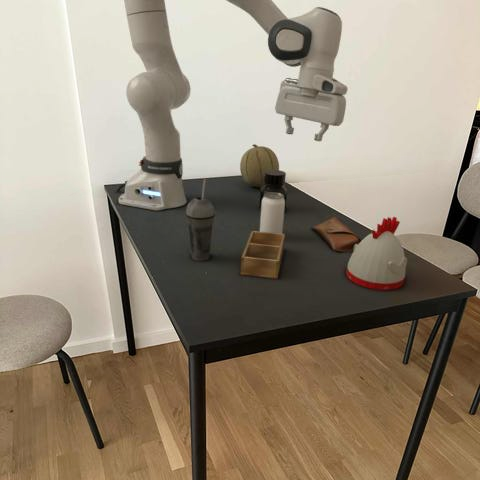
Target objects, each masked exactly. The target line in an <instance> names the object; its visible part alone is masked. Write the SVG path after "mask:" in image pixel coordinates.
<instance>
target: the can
mask: <svg viewBox="0 0 480 480" xmlns="http://www.w3.org/2000/svg"><path fill="white" fill-rule="evenodd" d="M284 208H285V200H284V195H283V194H280V193H274V192H270V193H265V194H264V197H263V199H262V205H261V209H260V220H259V232H268V233H278V234H283V227H284V220H285V219H284V218H285V210H284Z"/></svg>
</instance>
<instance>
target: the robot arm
mask: <svg viewBox="0 0 480 480" xmlns="http://www.w3.org/2000/svg"><path fill="white" fill-rule="evenodd" d="M225 1H227V2H228V3H230V4H232V5H234V6H236V7H237V8H239V9H240V10H242V11H244V12H246V13H247V14H248V15H250V17H251V18H252V19H253V20H254V21H255V22H256V23H257V24H258V25H259V26H260V28H262V30H263V31H264V32H265V33H266V35H268V37H267V46H268V47H267V48H268V50H269V52H270V54H271V55H272V56H273V57H274V58H275V60H277V61H279V62H281V63H283V64H284V65H286V66H288V67H291V68H296V67H299V72H298V77H297V78H291V77H286V78H285V79H283V80H282V81H281V82H280V85H279V90H278V95H277V98H276V102H275V106H274V110H275V113H276V114H278V115H281V116H284V120H283V121H284V124H285V126H286V129H285V134H287V135H293V134H294V131H295V127H293V124H292V121H293V120H294V118H296V119H299V120H300V119H301V120H306V121H310V122H313V123H314V122H315V123H320V126H319V127H320V128H321V129H320V130H319V132H318V133H314V138H313V140H314V141H316V142H322V140H323V137H324V135H325V133H326V132H327V131H328V130H329V127H330V126H334V127H339V126H341V124H343V123H344V120H345V119H344V118H345V114H346V108H347V99H346V97H345V95H347V93H348V90H349V89H348V86H347V85H345V84H344V83H343V82H341V81H339V80H337V79H336V78H334V73H335V61H336V58H337V56H338V54H339V49H340V45H341V44H340V43H341V38H342V31H343V22H342V21H343V20H342V18H341V17H340V16H339V14H338V13H337V12H334V11H333V10H331V9H328V8H326V7H322V6H317V7H314V8H313V9H312V10H310V11H308V12H306V13H304V14H302V15H301V14H300V15H298V16H295V17H290V18H288V17H287V16H286V15H285V14H284V13H283V11H282V10H281V9H280V8H279V7H278V6H277V5H276V3H275V2H274V1H273V0H225ZM124 8H125V15H126V19H127V24H128V30H129V35H130V40H131V45H132V49H133V50H134V52H135V53H136V54H137V55H138V57H139V59H141V62H142V64H143V67H144V68H145V71H144V72H140V73H138V74H137V75H135V76H134V77H132V78H131V79H130V80H129V81H128V83H127V85H126V90H125V91H126V92H125V94H126V99H127V101H128V103H129V106H130V107H131V108H132V109H133V110H134V111H135V113H136V114H137V116H138V119H139V122H140V125H141V128H142V132H143V140H144V151H145V156H143V157H142V159H141V160H140V161H139V162H138V166H139V167H140V168H141V169H140V170H138V172H136V173H135V174H133V175H132V176H131V177H130V178H129V179H128V180H125V181H124V183H122V184H121V185H120V186H119V187H118V188H117V189H116V192H120V191H121V189H122V188H124V193H122V194H120V196H119V197H118V204H120V205H123V206H130V207H135V208H140V209H144V210H145V209H146V210H150V211H151V210H152V211H163V210H166V209H174V208H179V207H182V206H184V205H185V204H187V202H188V200H187V197H186V194H185V190H184V184H183V174H184V167H183V158H182V157H181V155H182V154H181V133H180V132H179V130H178V128H177V127H176V125H175V123H174V119H173V116H172V110H176V109H179V108H180V107H181V106H183V105H184V104H185V103H187V101H188V100H189V98H190V96H191V91H192V90H191V84H190V81H189V78H188V77H187V76H186V75H185V74H184V73H183V70H182V68H181V66H180V63H179V61H178V58H177V55H176V53H175V49H174V47H173V43H172V37H171V31H170V26H169V20H168V14H167V8H166V2H165V0H124Z"/></svg>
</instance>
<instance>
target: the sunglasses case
mask: <svg viewBox="0 0 480 480" xmlns="http://www.w3.org/2000/svg"><path fill="white" fill-rule="evenodd" d="M311 230H313V231H314V232H315V233H316V234H317V235H319V236H320V237H321V238H322V239H323V240H324V242H325V243H326V244H327V245H328V246H329V247H330V248H331V249H332V250H333V251H336V252H342V253H347V252H349V253H350V252H352V253H353V252H354V246H355V244H357V245H358V244H359V243H360V242H361V241H362V239H361V238H360V237H359V236H358V235H357V234H356V233H354V232H353V231H352V230H351V229H350V228H349V227H348V226H347V225H346V224H344V223H343V222H342V221H340V220H339V219H338V218H337V217H336V216H335V215H333V217H332V218H330V219H328V220H326V221H323V222H322V223H319V224H317V225H315V226H312V227H311Z"/></svg>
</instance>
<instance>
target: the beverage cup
mask: <svg viewBox="0 0 480 480" xmlns="http://www.w3.org/2000/svg"><path fill="white" fill-rule="evenodd" d="M206 182H207V178H203V182H202V183H203V184H202V193H201V196H197V197H194V198H192V199H191V200H190V201H189V202H188V204H187V206H186V209H185V218H186V223H187V228H188V229H187V230H188V239H189V247H190V253H191V259H192V260H194V261H198V262H202V261H207V260H209V259H210V253H211V246H212V245H211V244H212V235H213V225H214V221H215V216H216V212H215V208H214V206H213V204H212V201H210V200H209V199H207V198H206V197H205V191H206Z"/></svg>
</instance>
